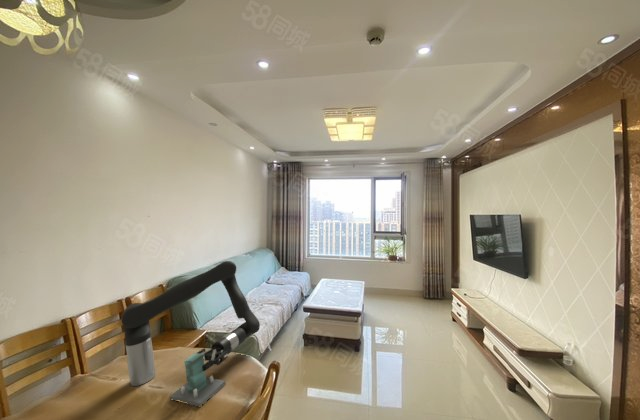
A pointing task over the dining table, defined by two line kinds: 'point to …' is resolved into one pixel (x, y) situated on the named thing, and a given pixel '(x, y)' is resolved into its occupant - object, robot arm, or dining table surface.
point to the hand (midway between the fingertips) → (195, 367)
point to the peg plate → (202, 395)
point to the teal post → (195, 372)
